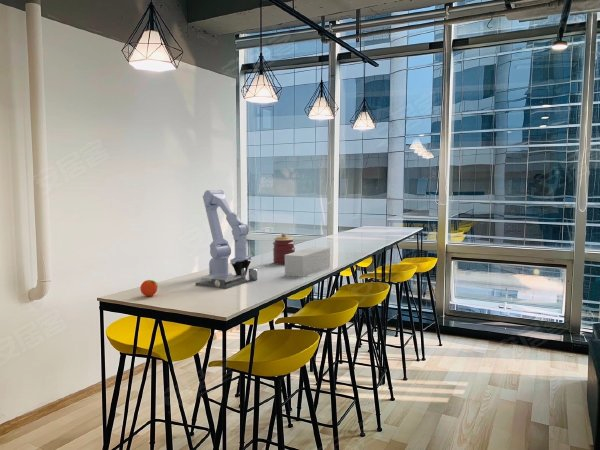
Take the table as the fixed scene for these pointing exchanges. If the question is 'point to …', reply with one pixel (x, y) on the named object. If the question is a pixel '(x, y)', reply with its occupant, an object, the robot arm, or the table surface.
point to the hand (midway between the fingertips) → (241, 276)
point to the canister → (282, 248)
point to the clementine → (148, 287)
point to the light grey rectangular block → (307, 261)
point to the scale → (221, 283)
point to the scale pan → (222, 277)
